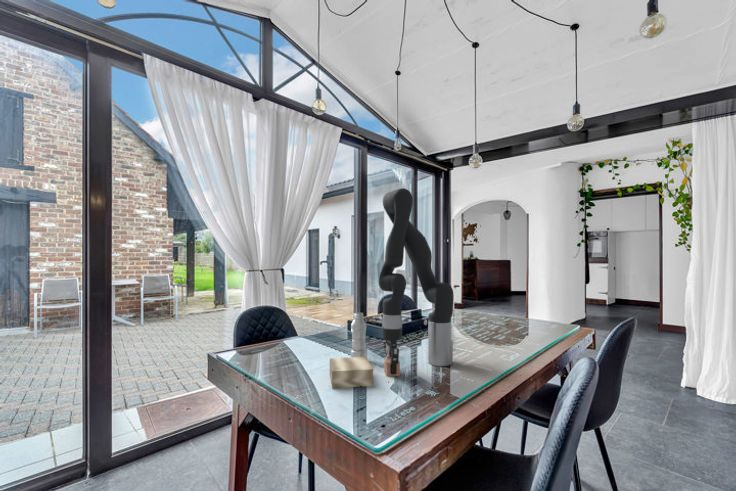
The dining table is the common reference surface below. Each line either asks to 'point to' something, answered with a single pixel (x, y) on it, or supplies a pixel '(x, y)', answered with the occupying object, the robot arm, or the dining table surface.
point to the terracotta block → (387, 368)
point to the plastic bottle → (358, 336)
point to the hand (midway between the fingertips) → (391, 371)
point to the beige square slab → (350, 372)
